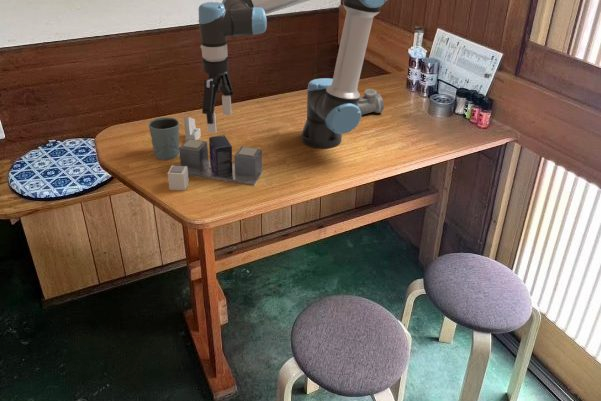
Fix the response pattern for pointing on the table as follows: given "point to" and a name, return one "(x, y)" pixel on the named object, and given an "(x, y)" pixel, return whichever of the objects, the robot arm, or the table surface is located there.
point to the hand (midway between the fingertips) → (220, 123)
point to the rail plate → (243, 169)
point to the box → (220, 155)
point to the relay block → (178, 178)
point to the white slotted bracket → (191, 129)
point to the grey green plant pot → (165, 137)
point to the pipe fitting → (371, 102)
